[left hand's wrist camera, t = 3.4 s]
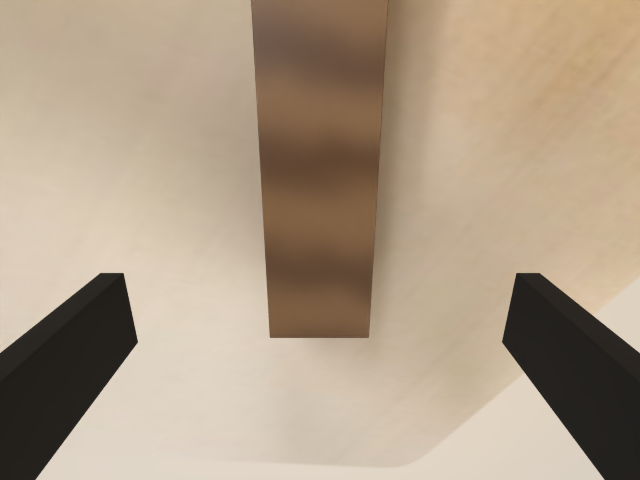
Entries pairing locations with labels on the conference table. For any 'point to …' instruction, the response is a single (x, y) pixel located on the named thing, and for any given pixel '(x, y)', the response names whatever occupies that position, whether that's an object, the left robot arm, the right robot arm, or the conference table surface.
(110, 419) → the conference table surface
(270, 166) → the bar
